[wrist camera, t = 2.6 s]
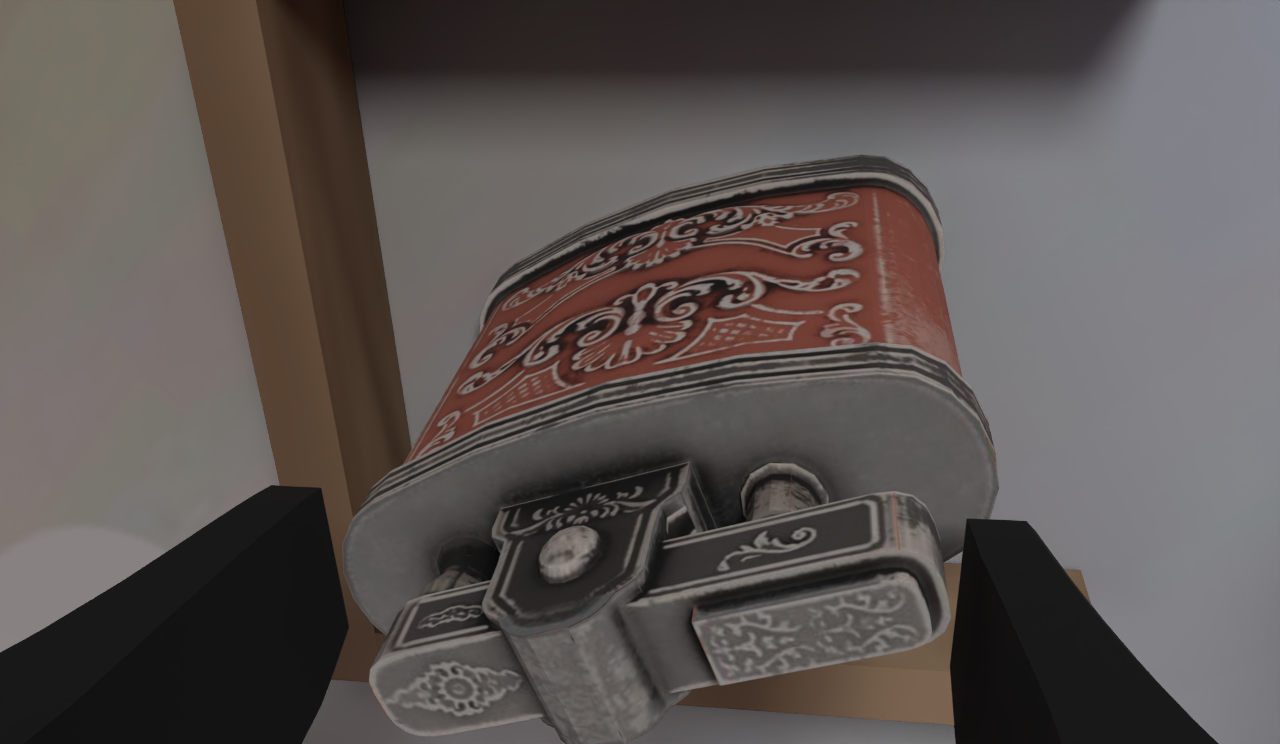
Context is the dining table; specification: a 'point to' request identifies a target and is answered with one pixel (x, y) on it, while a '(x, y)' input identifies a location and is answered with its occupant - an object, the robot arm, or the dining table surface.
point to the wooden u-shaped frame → (388, 318)
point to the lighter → (682, 462)
